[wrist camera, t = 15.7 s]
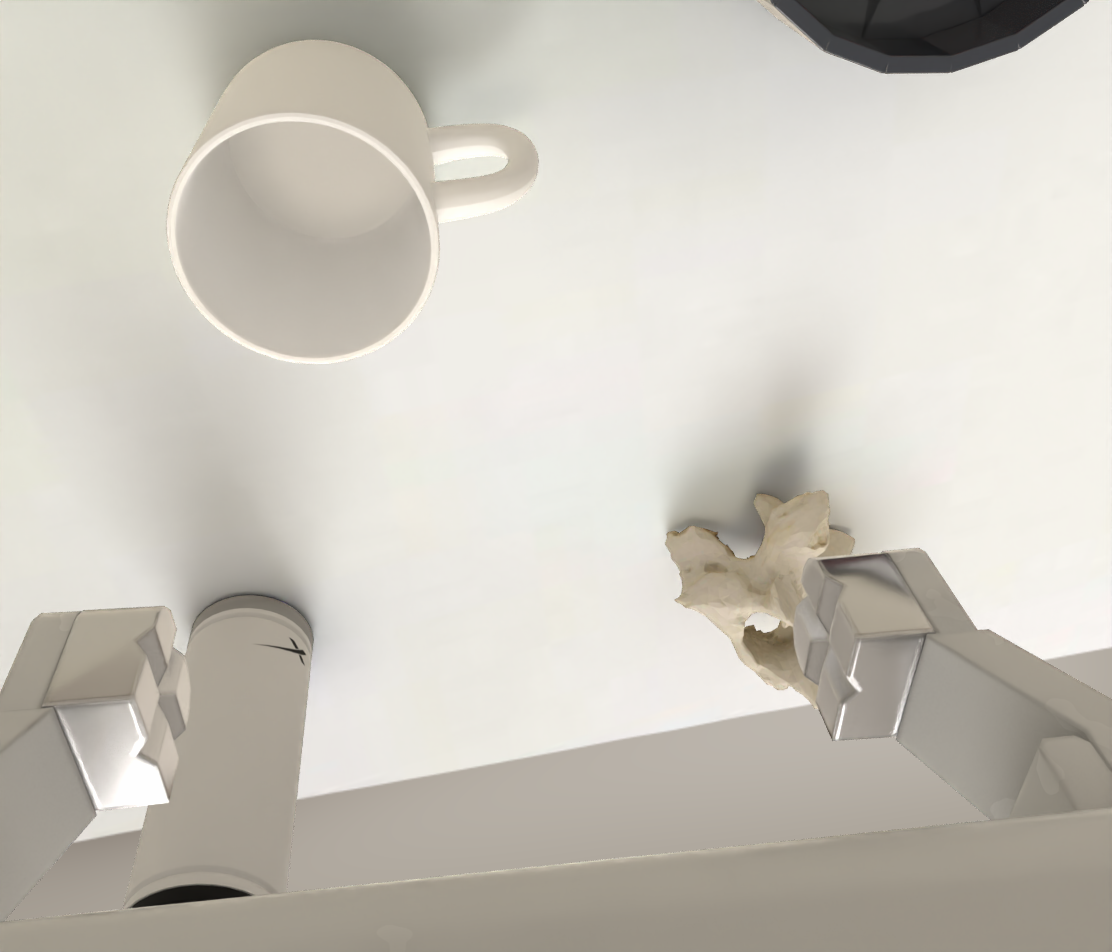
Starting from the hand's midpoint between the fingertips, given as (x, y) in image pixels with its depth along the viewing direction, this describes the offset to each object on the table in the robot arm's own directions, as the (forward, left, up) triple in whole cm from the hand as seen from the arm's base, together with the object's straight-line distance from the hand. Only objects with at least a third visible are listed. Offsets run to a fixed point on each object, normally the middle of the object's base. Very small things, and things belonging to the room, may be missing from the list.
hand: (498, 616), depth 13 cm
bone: (+30, -1, -31) cm, 43 cm away
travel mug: (+17, -26, -31) cm, 44 cm away
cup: (+1, -4, -31) cm, 32 cm away
